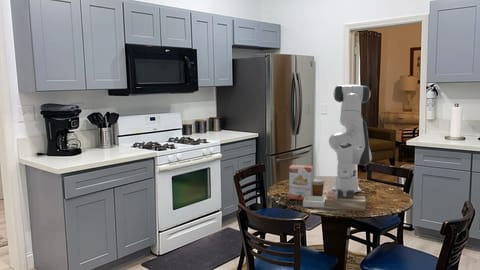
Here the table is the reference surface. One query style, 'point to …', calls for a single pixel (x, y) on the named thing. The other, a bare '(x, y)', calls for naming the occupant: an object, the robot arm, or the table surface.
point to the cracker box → (300, 181)
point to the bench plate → (346, 203)
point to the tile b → (331, 196)
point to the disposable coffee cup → (318, 186)
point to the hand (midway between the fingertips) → (344, 195)
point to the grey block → (340, 194)
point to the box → (314, 201)
